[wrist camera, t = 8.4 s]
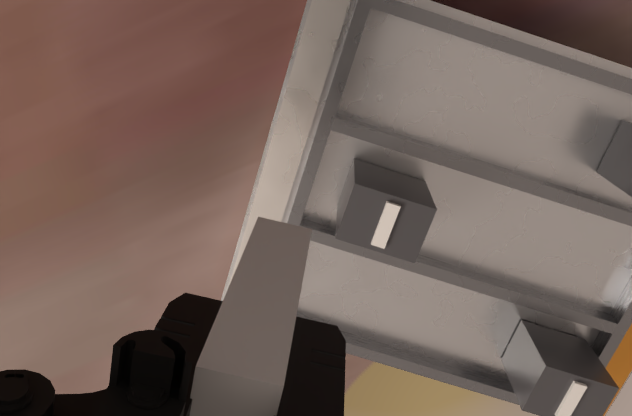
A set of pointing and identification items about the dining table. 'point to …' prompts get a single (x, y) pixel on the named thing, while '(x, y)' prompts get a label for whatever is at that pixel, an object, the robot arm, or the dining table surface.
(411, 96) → the panel
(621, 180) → the breaker
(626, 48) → the dining table surface
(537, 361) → the breaker
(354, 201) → the breaker mid
